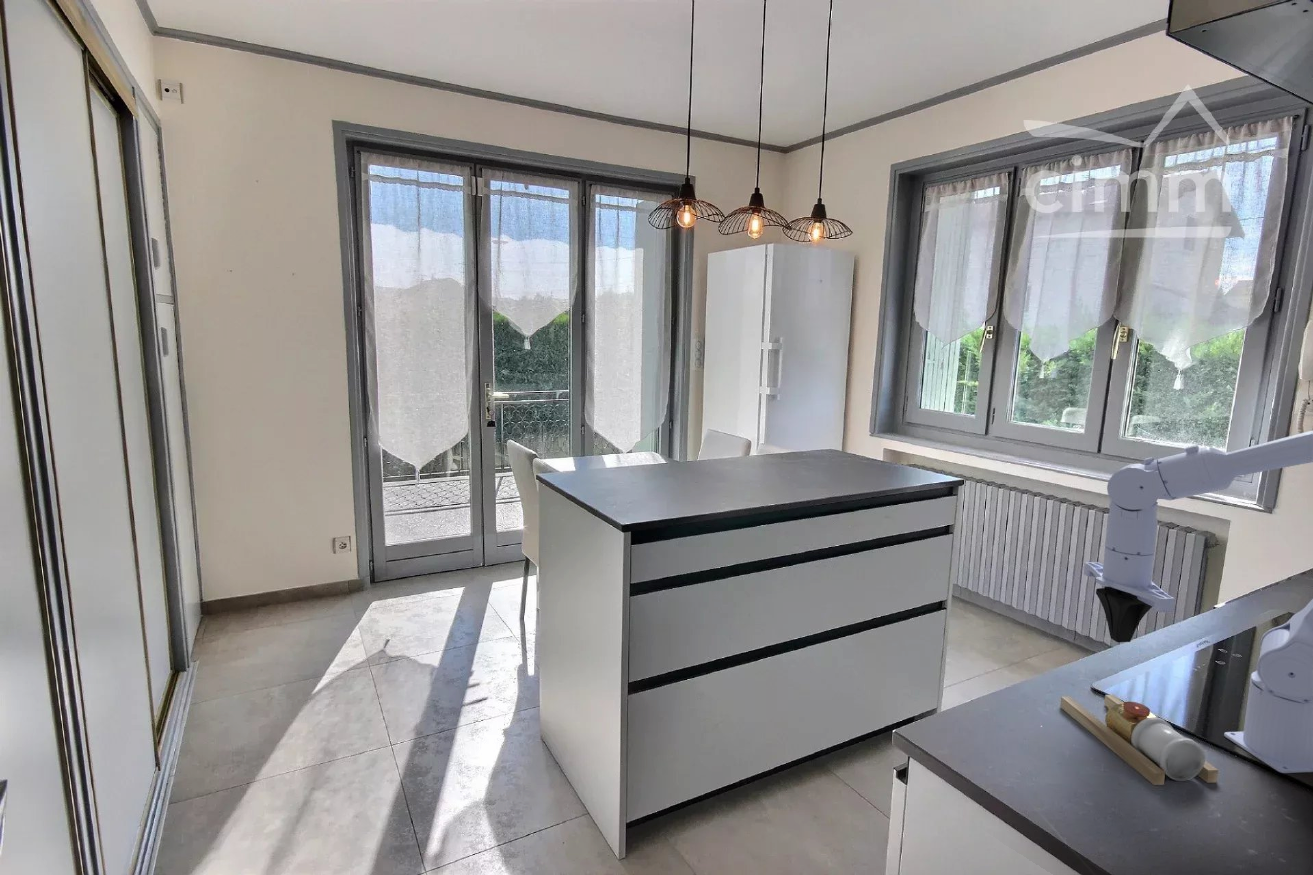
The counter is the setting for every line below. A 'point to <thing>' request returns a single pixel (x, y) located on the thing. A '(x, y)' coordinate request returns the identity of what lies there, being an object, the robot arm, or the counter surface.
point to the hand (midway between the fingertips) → (1120, 640)
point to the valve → (1126, 718)
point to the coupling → (1168, 749)
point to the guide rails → (1124, 742)
